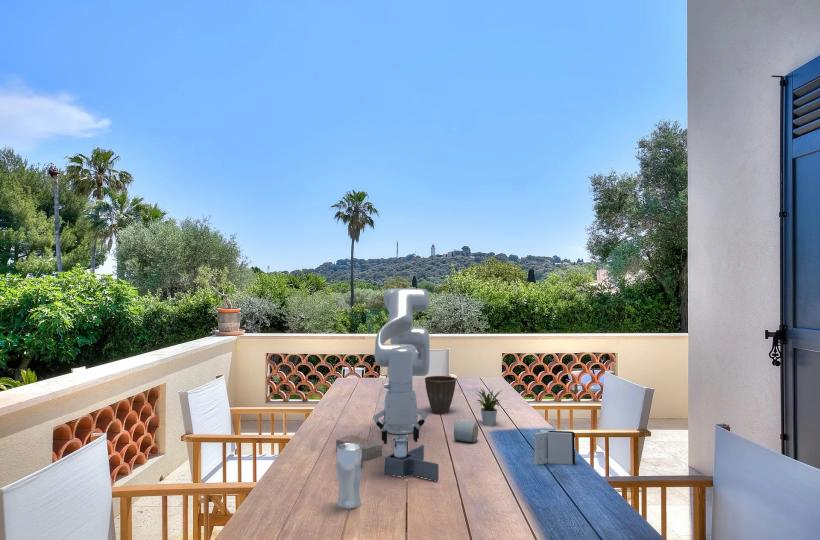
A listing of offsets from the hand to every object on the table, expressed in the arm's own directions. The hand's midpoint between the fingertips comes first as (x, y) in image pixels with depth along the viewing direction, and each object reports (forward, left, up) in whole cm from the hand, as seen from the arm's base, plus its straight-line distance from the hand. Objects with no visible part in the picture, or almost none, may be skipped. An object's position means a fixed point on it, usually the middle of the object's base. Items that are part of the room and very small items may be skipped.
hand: (400, 441), depth 154 cm
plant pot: (-29, +76, -9) cm, 82 cm away
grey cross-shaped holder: (+5, +5, -9) cm, 12 cm away
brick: (-22, +8, -10) cm, 26 cm away
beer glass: (+2, -28, -9) cm, 29 cm away
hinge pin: (0, 0, -9) cm, 9 cm away
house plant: (-2, +68, -9) cm, 69 cm away
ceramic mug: (+2, +43, -10) cm, 44 cm away
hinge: (+38, +35, -10) cm, 52 cm away
